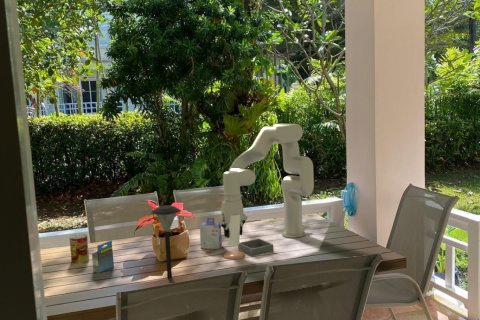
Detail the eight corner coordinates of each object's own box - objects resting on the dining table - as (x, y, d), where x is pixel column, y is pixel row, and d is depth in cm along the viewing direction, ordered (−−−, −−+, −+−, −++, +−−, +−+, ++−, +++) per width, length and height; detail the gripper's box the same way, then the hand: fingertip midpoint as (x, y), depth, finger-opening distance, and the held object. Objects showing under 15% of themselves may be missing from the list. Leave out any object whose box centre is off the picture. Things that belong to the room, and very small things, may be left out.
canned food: (69, 260, 223) (67, 236, 221) (85, 256, 228) (83, 232, 226) (74, 265, 217) (72, 239, 215) (91, 260, 222) (89, 236, 220)
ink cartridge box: (222, 245, 237) (221, 217, 235) (219, 249, 232) (218, 220, 230) (203, 245, 239) (202, 217, 237) (200, 248, 234) (199, 220, 232)
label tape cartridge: (108, 265, 215) (106, 239, 213) (114, 266, 213) (112, 240, 211) (92, 271, 207) (90, 244, 206) (99, 273, 205) (97, 245, 204)
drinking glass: (226, 243, 224) (224, 212, 222) (240, 242, 224) (239, 211, 222) (226, 247, 217) (225, 215, 215) (241, 246, 218) (240, 215, 216)
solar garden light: (183, 282, 192) (179, 209, 188) (153, 284, 191) (148, 211, 187) (184, 271, 204) (181, 203, 200) (156, 273, 203) (152, 204, 199)
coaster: (237, 250, 228) (237, 249, 228) (249, 256, 220) (249, 255, 220) (219, 255, 223) (219, 253, 223) (230, 260, 215) (230, 259, 215)
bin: (259, 245, 236) (259, 238, 235) (273, 251, 226) (273, 244, 225) (238, 250, 230) (238, 243, 229) (252, 256, 219) (251, 249, 219)
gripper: (243, 194, 226) (245, 230, 228) (211, 199, 217) (213, 237, 219) (252, 196, 219) (253, 234, 221) (219, 201, 210) (221, 241, 213)
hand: (233, 235), depth 220 cm, fingers closed on drinking glass, 6 cm apart
